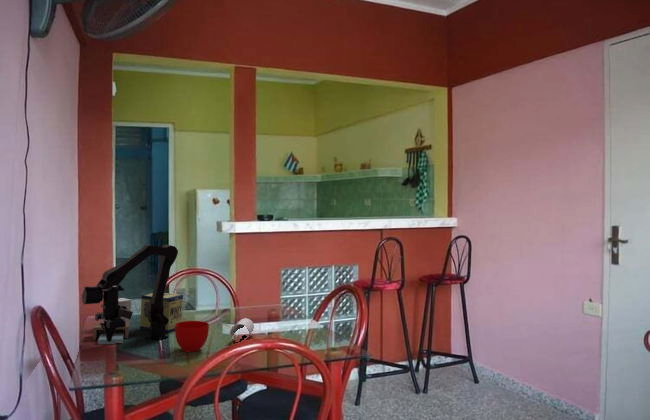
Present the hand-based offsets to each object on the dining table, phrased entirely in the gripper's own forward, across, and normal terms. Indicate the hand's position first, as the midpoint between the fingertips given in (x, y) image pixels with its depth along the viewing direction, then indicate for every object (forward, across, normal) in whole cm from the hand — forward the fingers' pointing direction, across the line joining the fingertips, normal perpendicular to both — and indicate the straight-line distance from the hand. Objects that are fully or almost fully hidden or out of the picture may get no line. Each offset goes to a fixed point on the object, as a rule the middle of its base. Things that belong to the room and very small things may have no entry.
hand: (109, 341), depth 207 cm
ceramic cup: (+1, -22, -23) cm, 32 cm away
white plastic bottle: (+2, -18, -50) cm, 53 cm away
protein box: (+1, +14, -28) cm, 31 cm away
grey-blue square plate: (+2, +5, -2) cm, 6 cm away
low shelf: (+1, +12, -5) cm, 12 cm away
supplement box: (+1, +27, -13) cm, 30 cm away
